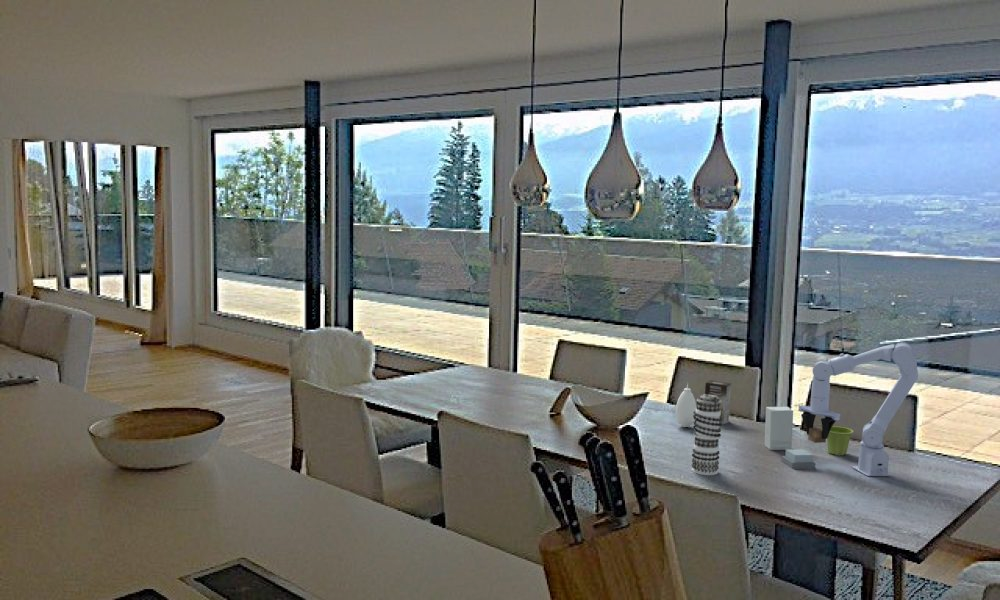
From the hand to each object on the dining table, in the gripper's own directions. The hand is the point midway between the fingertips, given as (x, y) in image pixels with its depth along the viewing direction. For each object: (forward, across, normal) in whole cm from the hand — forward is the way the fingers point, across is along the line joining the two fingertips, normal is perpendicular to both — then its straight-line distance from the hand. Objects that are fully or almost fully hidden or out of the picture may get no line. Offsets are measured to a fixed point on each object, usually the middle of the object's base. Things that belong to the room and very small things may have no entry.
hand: (817, 436), depth 285 cm
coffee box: (+10, +57, -17) cm, 60 cm away
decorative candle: (+10, +14, +40) cm, 43 cm away
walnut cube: (+2, 0, 0) cm, 2 cm away
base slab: (+10, +2, +6) cm, 12 cm away
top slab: (+8, +2, +6) cm, 10 cm away
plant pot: (+10, +4, -19) cm, 21 cm away
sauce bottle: (+10, +57, +2) cm, 58 cm away
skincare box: (+10, +19, -5) cm, 22 cm away
